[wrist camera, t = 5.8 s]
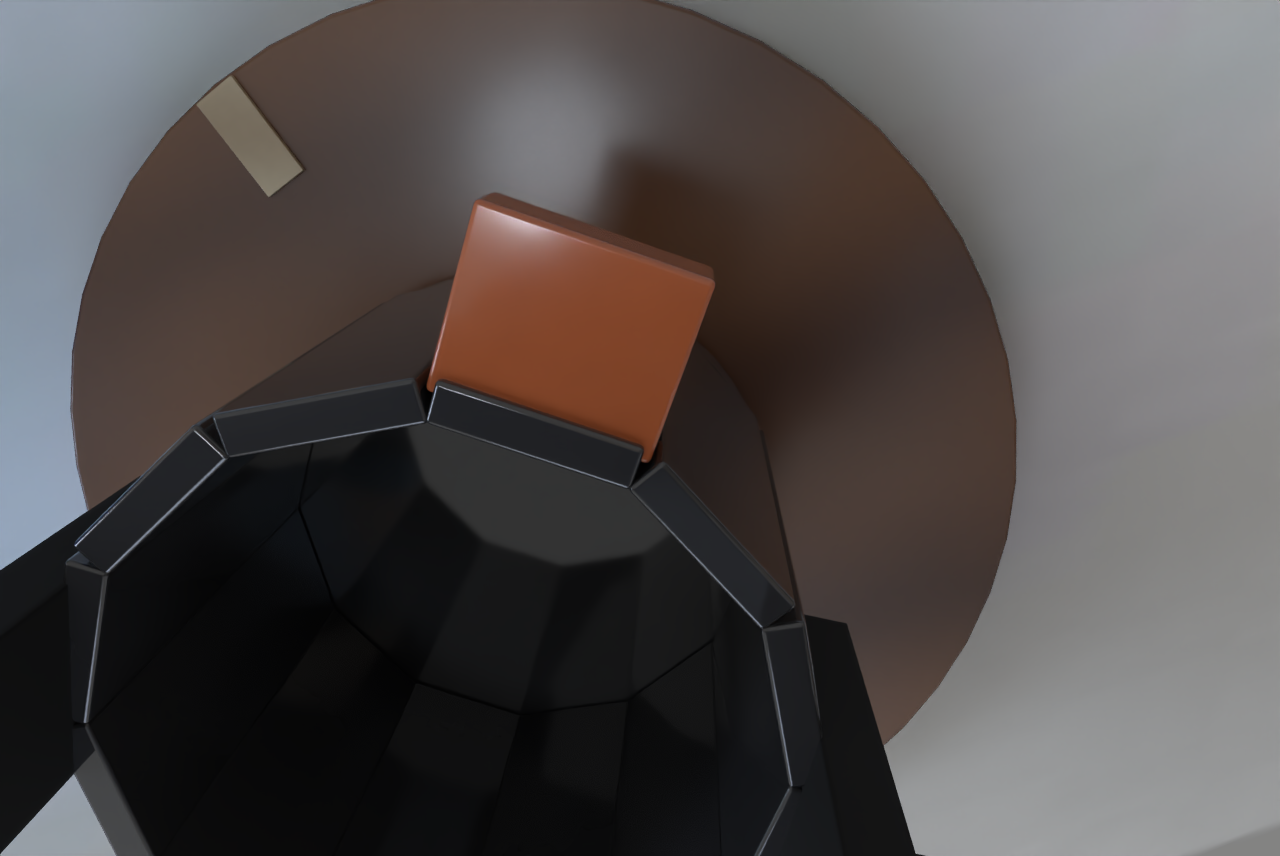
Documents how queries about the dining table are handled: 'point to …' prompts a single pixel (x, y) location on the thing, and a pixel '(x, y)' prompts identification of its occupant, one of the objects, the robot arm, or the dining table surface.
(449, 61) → the turntable
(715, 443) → the cooking pot
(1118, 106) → the dining table surface
